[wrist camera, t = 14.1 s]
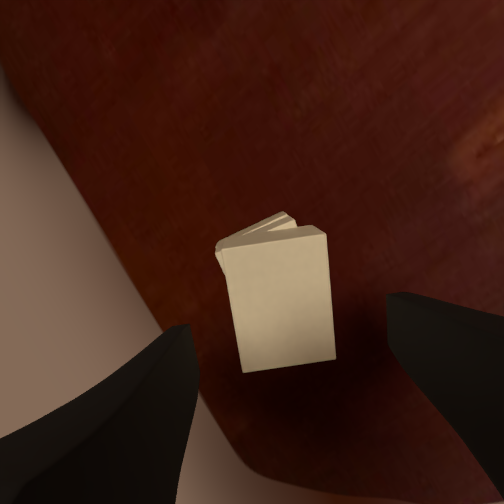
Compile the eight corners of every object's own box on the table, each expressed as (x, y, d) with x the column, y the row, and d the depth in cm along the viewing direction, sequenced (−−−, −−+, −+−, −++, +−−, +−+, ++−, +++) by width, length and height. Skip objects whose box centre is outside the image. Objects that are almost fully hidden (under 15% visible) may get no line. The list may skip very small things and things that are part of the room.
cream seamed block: (320, 294, 18) (337, 317, 15) (257, 322, 19) (261, 350, 16) (283, 209, 17) (293, 216, 14) (216, 241, 17) (210, 255, 14)
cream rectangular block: (322, 332, 15) (336, 359, 13) (242, 344, 15) (242, 373, 13) (312, 224, 14) (326, 233, 12) (223, 237, 14) (220, 249, 12)
